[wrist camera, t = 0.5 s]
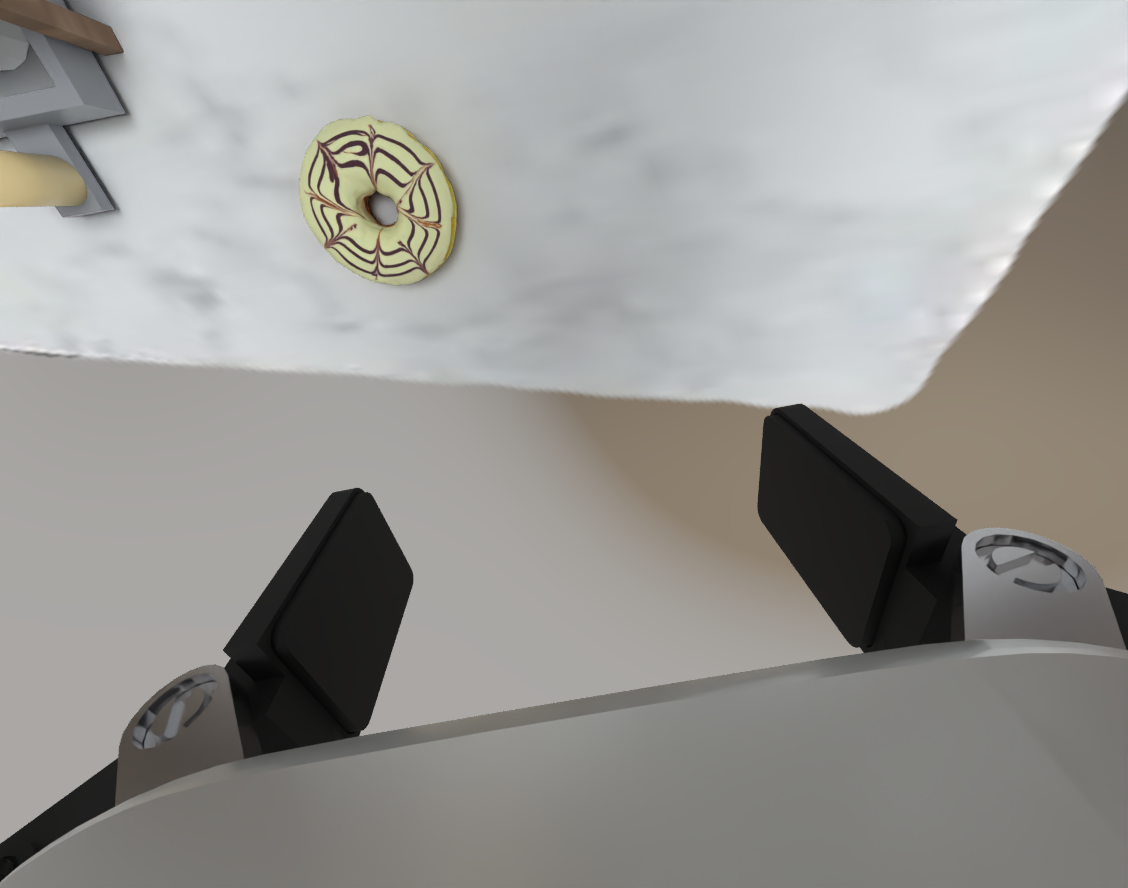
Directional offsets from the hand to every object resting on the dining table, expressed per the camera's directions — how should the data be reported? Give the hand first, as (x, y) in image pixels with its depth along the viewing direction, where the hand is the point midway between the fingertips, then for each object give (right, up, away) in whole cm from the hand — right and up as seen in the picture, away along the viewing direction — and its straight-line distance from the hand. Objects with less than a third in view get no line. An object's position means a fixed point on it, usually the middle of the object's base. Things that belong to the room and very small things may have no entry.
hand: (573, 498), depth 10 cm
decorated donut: (-14, +20, +22) cm, 33 cm away
